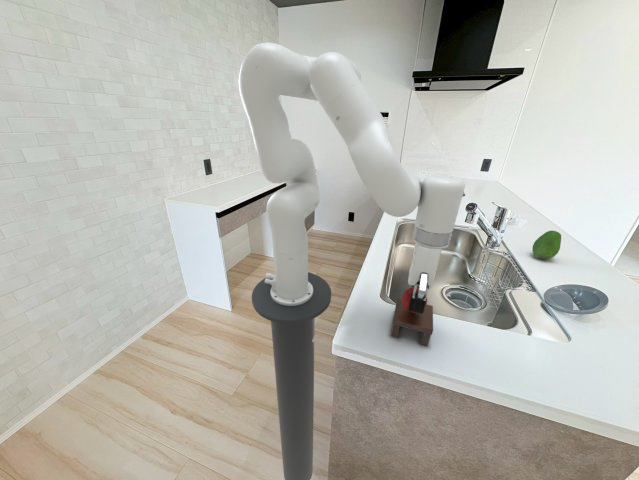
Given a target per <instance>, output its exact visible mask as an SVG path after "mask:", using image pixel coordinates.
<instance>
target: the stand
mask: <svg viewBox="0 0 639 480" xmlns="http://www.w3.org/2000/svg"><path fill="white" fill-rule="evenodd" d="M392 319H393V320H392V329H391V333H390V337H392V338H395V339H398V337H399V333H400V328H406V329H408V330H413V331H417V332H420V342H419V343H420V346H424V347H428V345H429V342H430V340H431V337H432V335H433V331H434V306H433V305H430V304H427V305H426V307H425V309H424V312H423V313H422V314H421V313H412V312H409V311H408V310H406V309H405V307H404V306H403V304H402V297H396V302H395V306H394V313H393V318H392Z"/></svg>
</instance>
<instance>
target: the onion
mask: <svg viewBox="0 0 639 480" xmlns="http://www.w3.org/2000/svg"><path fill="white" fill-rule="evenodd" d="M413 290H414V287H412V286H411V287H409V288H407V289H406V290H404V292H403V294H402V295H401V299H402V304H403V306H404V307H405V309H406V310H408V308H409V303H410V299H411V295H413ZM418 290H419V288H418V287H417V290H416V292H418ZM426 298H427V300H426V304H425V307H426V305H428V304H427V303H428V297H426ZM424 309H425V308H424ZM408 311H409V310H408ZM409 312H412V313H417V312H413V311H409Z"/></svg>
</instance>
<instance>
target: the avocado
mask: <svg viewBox="0 0 639 480" xmlns="http://www.w3.org/2000/svg"><path fill="white" fill-rule="evenodd" d="M561 243H562V233H560V232H558V231H556V230H548V231H545V232H544V233H543V234H541V235H540V236H539V237H538V238H537V239H535V241H534V242H533V244H532V248H531V249H532V255H533V256H534V257H536V259H538V260H543V261H546V260H550V259H553V258H554V257H556V255H558V254H559V251H560V250H561Z"/></svg>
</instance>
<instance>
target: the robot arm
mask: <svg viewBox="0 0 639 480" xmlns="http://www.w3.org/2000/svg"><path fill="white" fill-rule="evenodd" d="M238 90H239V95H240V100H241V102H242V106H243V109H244V111H245V114H246V117H247V120H248V123H249V127H250V131H251V136H252V139H253V143H254V147H255V151H256V154H257V158H258V163H259V166H260V169H261V172H262V174H263V176H264V178H265V179H266V180H267V181H268V182H270V183H272V184H283V183H285V185H286V186H284V187H282V188H280V189H278V190H276V191H275V192H273V194H271V196H270V197H269V199H268V200H267V203H266V209H265V210H266V216H267V220H268V224H269V229H270V234H271V245H272V254H273V270H274V273H271V272H265V275H264V278H266V279H265V283H267V284H271V285H272V288H271V297H272V299H273V300H274V301H275V302H276V303H278V304H281V305H285V306H296V305H300V304H303V303H305V302H307V301H308V300H309V299H310V298H311V297H312V295H313V287H312V285H311V283H309V282H308V272H309V238H308V237H309V236H308V231H307V228H306V222H305V221H306V218H308V217H309V215H311V214H312V213H313V212H314V211H315V210H316V209H317V208H318V206H319V204H320V200H321V194H320V193H321V192H320V186H319V181H318V175H317V172H316V166H315V161H314V157H313V154H312V151H311V150H310V148H309V147H308V145H307V144H306V143H305V142H304V141H302V140H301V139H296V138H292V135H291V134H292V133H291V130H290V125H289V121H288V117H287V114H286V112H285V110H284V108H283V106H282V105H281V104H282V103H281V101H280V96H286V97H291V98H298V99H305V100H310V101H314V102H315V101H316V102H318V103H319V104H320V106H321V107H322V109H323V111H324V112H325V113H326V115H327V117H328V118H329V119H330V121H331V123H332V124H333V126H334V127H335V129H336V131H337V132H338V133H339V135H340V137H341V138H342V140H343V141H344V143H345V145H346V148H347V150H348V153H349V156H350V157H351V160H352V163H353V164H354V167H355V170H356V172H357V174H358V176H359V178H360V179H361V182H362V183H363V185H364V186H365V188H366V189H367V191H368V192H369V194H370V196H371V197H372V199H373V200H374V201H375V203H376V205H378V207H379V208H380V209H381V210H382V211H383V212H384V213H386V214H387V215H388V216H391V217H396V218H401V217H406V216H409V215H410V214H411V213H413V212H414V211H415V210H416V209H417V211H416V217H415V221H414V226H413V231H412V236H411V240H412V241H413V242H414V243H415V244H414V248H413V252H412V257H411V261H410V265H409V272H408V277H407V278H408V279H407V284H408V285H409V286H411V288H412V287H414V290H413V295H411V299H410V303H409V308H408V310H409V311H413V312H417V313H421V314H422V313H423V312H424V308H425V304H426V300H427V301H428V297H427V296H428V291H429V290H430V289H432V288H433V285H434V281H435V277H436V273H437V271H438V267H439V262H440V259H441V254H442V250H443V249H447V248H448V247H449V246H450V243H451V239H452V236H453V232H454V229H455V225H456V222H457V217H458V214H459V211H460V207H461V203H462V200H463V196H464V192H465V187H466V184H465V182H464V180H463V179H462V178H460V177H458V176H453V175H448V174H429V173H424V172H419V171H417V170H416V171H415V170H412V169H405V168H404V166H403V165H402V163H401V162H400V159H399V158H398V156H397V155H396V153H395V151H394V148H393V146H392V144H391V141H390V139H389V136H388V131H387V125H386V122H385V119H384V117H383V114H382V113H381V111H380V110H379V108H378V107H377V105H376V104H375V102H374V101H373V99H372V98H371V96H370V94H369V92H368V91H367V89H366V88H365V86H364V84H363V83H362V76H361V72H360V70H359V68H358V66H356V64H355V63H354V62H353V61H352V60H350V59H349V58H348V57H346V56H345V55H343V54H342V53H339V52H335V51H328V52H325V53H322V54H321V55H319V56H317V57H315V56H310V55H309V56H308V55H303V54H300V53H298V52H296V51H293V50H291V49H290V48H288V47H286V46H283V45H281V44H279V43H275V42H268V41H267V42H261V43H258V44H256V45H253V46H252V47H251V48H250V49H249V50H248V51H247V53H246V54H245V56H244V58H243V60H242V62H241V65H240V69H239V74H238ZM274 274H275V275H274ZM417 287H418V288H419V290H418V292H416V290H417ZM426 297H427V298H426Z"/></svg>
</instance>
